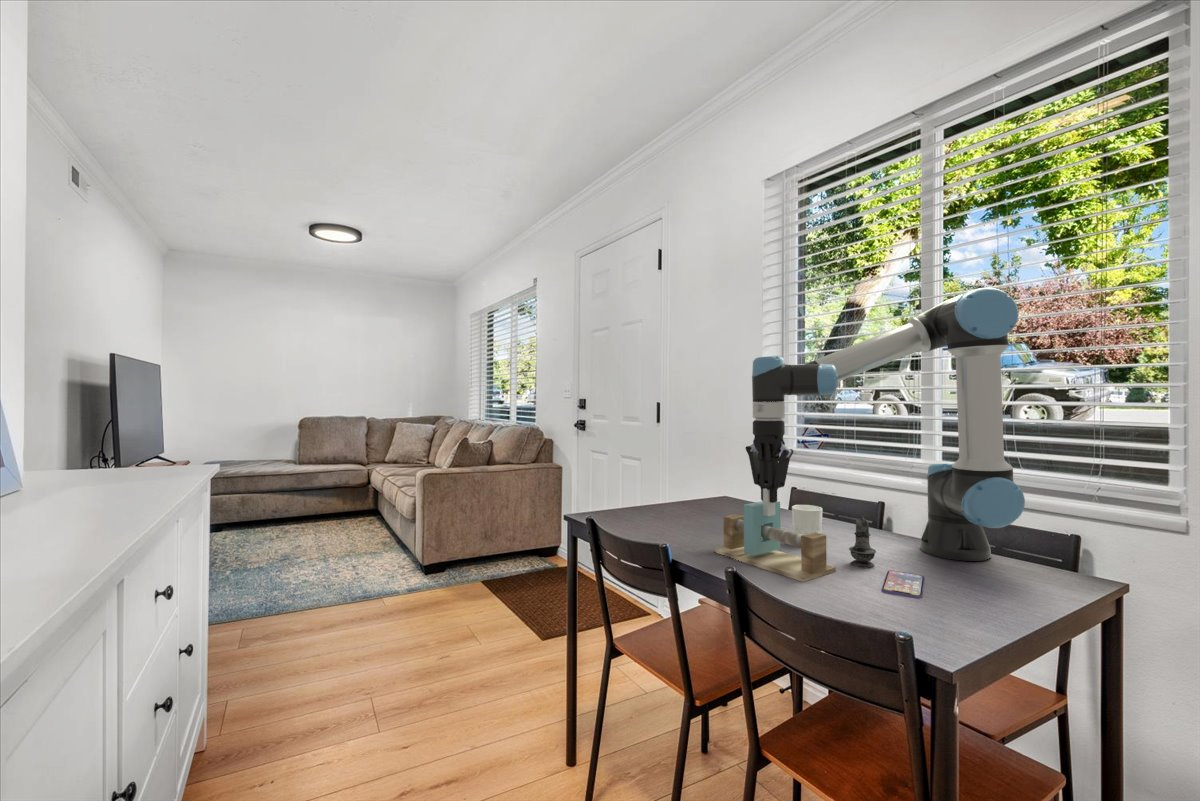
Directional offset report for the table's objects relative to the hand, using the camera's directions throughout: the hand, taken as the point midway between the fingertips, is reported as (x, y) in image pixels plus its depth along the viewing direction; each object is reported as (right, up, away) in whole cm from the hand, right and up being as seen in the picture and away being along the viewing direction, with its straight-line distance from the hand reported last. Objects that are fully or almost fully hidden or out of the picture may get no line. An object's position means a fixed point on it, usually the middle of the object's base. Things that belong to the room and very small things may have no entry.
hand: (769, 514), depth 134 cm
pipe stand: (0, -12, 0) cm, 12 cm away
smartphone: (+24, -12, -17) cm, 32 cm away
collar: (-1, -10, +2) cm, 10 cm away
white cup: (+15, -11, +15) cm, 25 cm away
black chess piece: (+22, -12, -3) cm, 25 cm away
